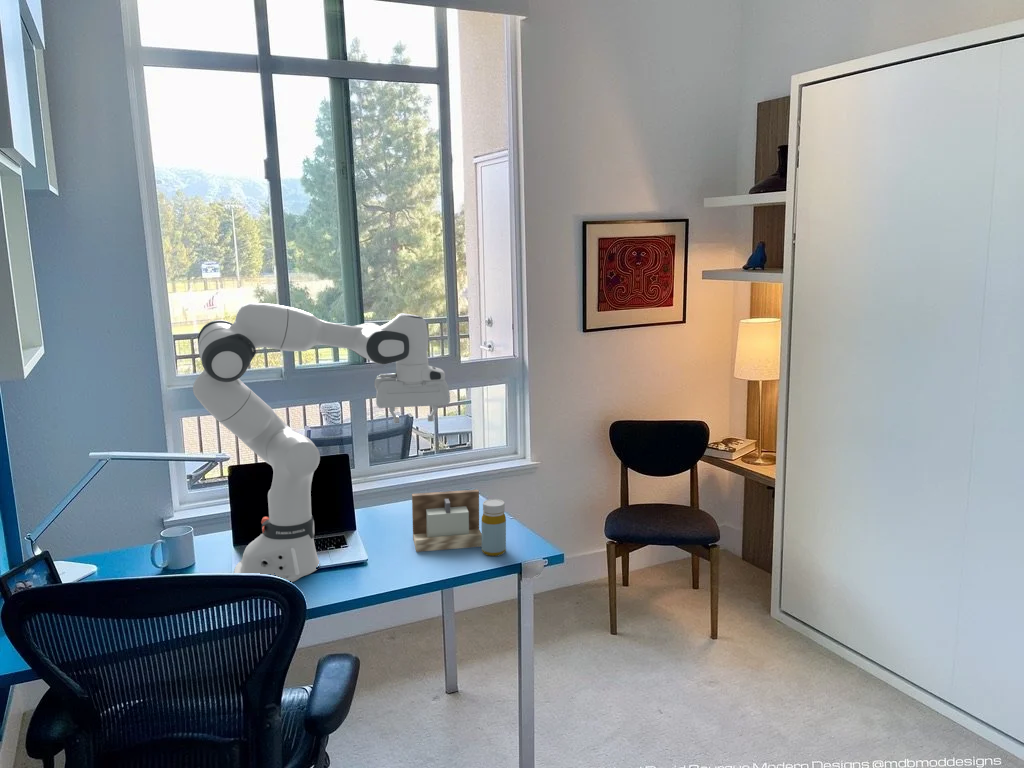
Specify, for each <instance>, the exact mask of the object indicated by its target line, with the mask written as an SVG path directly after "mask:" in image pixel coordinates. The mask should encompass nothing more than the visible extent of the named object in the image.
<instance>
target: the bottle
mask: <svg viewBox="0 0 1024 768" xmlns="http://www.w3.org/2000/svg"><path fill="white" fill-rule="evenodd" d="M481 533H482V546H481V551H482V553H483V554H484V555H485V556H490V557H499V556H502V555H503V554H504V553H505V552H506V550H507V549H506V548H507V517H506V514H505V501H504V500H502V499H499V498H490V499H486V500H484V501H483V502H482V515H481ZM498 555H499V556H498Z"/></svg>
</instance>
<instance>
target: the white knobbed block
mask: <svg viewBox="0 0 1024 768" xmlns="http://www.w3.org/2000/svg"><path fill="white" fill-rule="evenodd" d="M426 527H427V538H428V537H441V536H453V535H466V534H469V512H468V509H467V507H466V506H462V507H450V502H449V499H444V508H435V509H426Z"/></svg>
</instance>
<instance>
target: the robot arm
mask: <svg viewBox="0 0 1024 768" xmlns="http://www.w3.org/2000/svg"><path fill="white" fill-rule="evenodd" d="M315 346H329V347H335V348H340V349H341V348H342V349H347V350H349V351H352V352H353V353H354V354H357V356H359V357H361V358H364V359H367V360H369V361H371V362H373V363H374V364H378V365H388V364H392V363H395V370H396V371H395V372H396V373H380V374H379V375H376V377H375V378H374V381H373V383H374V389H375V390H376V395H375V404H376V406H377V408H379V409H388V410H389V412H390V414H391V415H392V417H393V424H399V423H400V416H399V415H396V413H395V412H396V411H395V410H396V408H409V407H413V408H414V407H431V408H432V410H431V411H430V413H428V414H427V422H434V420H435V419H434V418H435V417H434V416H435V414H436V413H437V411H438V406H448V405H449V404H450V402H451V395H450V393H451V392H450V389H449V388H450V387H449V384H448V383H447V381H446V379H445V378H446V373H445V370H443V369H442V368H440V367H436V366H432V365H429V358H428V349H429V334H428V326H427V322H426V320H425V319H424V318H423V317H422V316H420V315H417V314H416V315H415V314H411V313H404V312H403V313H398V314H397V316H396V317H394V318H393V319H391V320H390V321H388V322H387V323H384V324H383V325H379V324H378V323H374V322H365V323H361V324H357V325H347V324H342V323H335V322H329V321H326V320H322V319H320V318H318V317H316V315H313V314H312V313H310V312H307V311H304V310H302V309H298V308H296V307H291V306H286V305H280V304H274V303H262V302H255V303H254V302H252V303H245V304H244V305H243V306H241V307H240V309H239V310H238V312H237V313H236V316H235V319H234V322H233V323H232V322H230V321H228V320H225V319H216V320H212V321H209V322H207V323H205V324H204V326H203V327H201V329H200V330H199V332H198V336H197V348H198V356H199V359H200V361H201V365H202V367H203V369H204V370H203V371H202V372H201V373H200V374H199V375H198V376H197V377H196V378H195V381H194V383H193V385H192V392H193V395H194V397H195V398H196V399H197V401H198V402H199V403H200V404H201V406H203V408H204V409H205V410H206V411H207V413H208V414H210V415H211V416H212V417H213V418H215V419H216V420H217V422H219V423H220V424H221V425H223V427H225V428H226V429H227V430H228V431H230V432H231V433H232V434H234V436H236V437H237V438H238V439H239V440H240V441H242V443H244V444H245V445H246V446H247V447H248V448H249V449H250V450H251V451H252V452H254V454H255V455H256V456H258V457H259V458H260V459H262V460H263V461H264V462H265V463H266V464H268V465H270V466H271V468H272V471H273V474H272V482H271V486H270V489H269V490H268V492H267V503H268V506H267V507H268V516H263V517H262V519H261V521H260V523H261V532H262V533H260V535H259V536H257V537H256V538H254V540H252V541H251V542H249V543H248V545H246V547H245V549H244V551H243V554H242V559H241V560H240V561H239V562H237V564H236V565H235V567H234V571H233V574H234V573H260V574H271V575H276V576H279V577H282V578H285V579H287V580H289V581H291V582H290V583H293V582H296V581H298V580H299V579H301V578H302V577H304V576H308V575H310V574H312V573H314V572H316V571H317V570H318V569H316V567H317V566H318V564H319V561H320V559H319V556H318V554H317V549H316V546H315V545H316V544H315V540H314V539H315V538H314V536H315V520H314V516H313V515H312V496H311V494H312V493H311V491H312V482H313V477H314V473H315V471H316V470H317V468H319V467H318V466H319V464H320V461H321V455H320V451H319V449H318V447H317V446H316V444H315V443H314V442H313V440H312V439H310V438H309V437H307V436H305V435H304V434H302V433H299V432H298V431H296V430H295V429H294V428H291V427H290V426H289V425H288V424H286V422H284V421H283V420H282V418H280V416H278V415H277V413H276V412H275V411H274V410H273V408H272V407H271V406H270V405H269V404H267V402H265V401H264V400H263V399H262V398H261V397H260V396H259V395H257V394H256V393H255V392H254V391H253V390H252V389H251V388H250V387H249V386H248V385H246V384H245V383H244V382H243V381H242V380H241V379H240V378H241V377H243V376H244V374H246V372H247V370H248V368H249V366H250V364H251V362H252V361H253V359H254V357H255V356H256V354H257V350H256V349H259V348H267V349H274V350H280V351H284V352H307V351H309V350H310V349H312V348H313V347H315ZM274 573H275V574H274Z"/></svg>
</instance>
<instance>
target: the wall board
mask: <svg viewBox="0 0 1024 768" xmlns="http://www.w3.org/2000/svg"><path fill="white" fill-rule="evenodd" d="M444 499H449V502H450V507H462V506H466V507H467V509H468V512H469V534H466V535H453V536H441V537H428V538H427V527H426V509H435V508H444ZM411 507H412V509H411V510H412V517H411V518H412V539H413V540H412V541H413V544H414V548H415V552H416V553H421V552H430V551H442V550H443V551H444V550H454V549H456V550H457V549H469V548H477V547H478V548H479V547H481V548H482V531H481V530H480V491H479V489H478V488H477V489H464V490H463V489H462V490H453V491H452V490H451V491H450V490H448V491H437V492H436V491H435V492H434V491H433V492H422V493H421V492H420V493H419V492H418V493H412V494H411Z"/></svg>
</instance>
